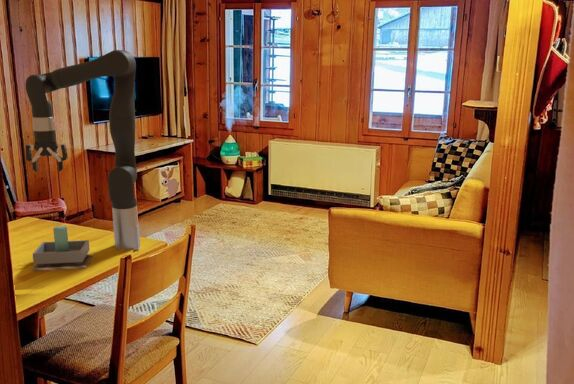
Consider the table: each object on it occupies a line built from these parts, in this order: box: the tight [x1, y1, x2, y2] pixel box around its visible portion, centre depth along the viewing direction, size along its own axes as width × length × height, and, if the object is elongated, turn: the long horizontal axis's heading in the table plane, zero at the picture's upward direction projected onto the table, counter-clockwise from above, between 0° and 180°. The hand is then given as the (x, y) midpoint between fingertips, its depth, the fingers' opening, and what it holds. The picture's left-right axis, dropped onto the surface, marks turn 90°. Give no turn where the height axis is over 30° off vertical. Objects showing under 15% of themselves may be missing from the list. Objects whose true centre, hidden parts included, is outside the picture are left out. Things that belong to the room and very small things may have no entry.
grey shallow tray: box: [32, 239, 90, 268], centre depth 186 cm, size 16×12×6 cm
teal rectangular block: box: [52, 225, 69, 252], centre depth 185 cm, size 4×4×10 cm
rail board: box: [31, 253, 94, 272], centre depth 187 cm, size 18×12×2 cm, turn 99°
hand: (48, 171), depth 200 cm, fingers open, 8 cm apart
